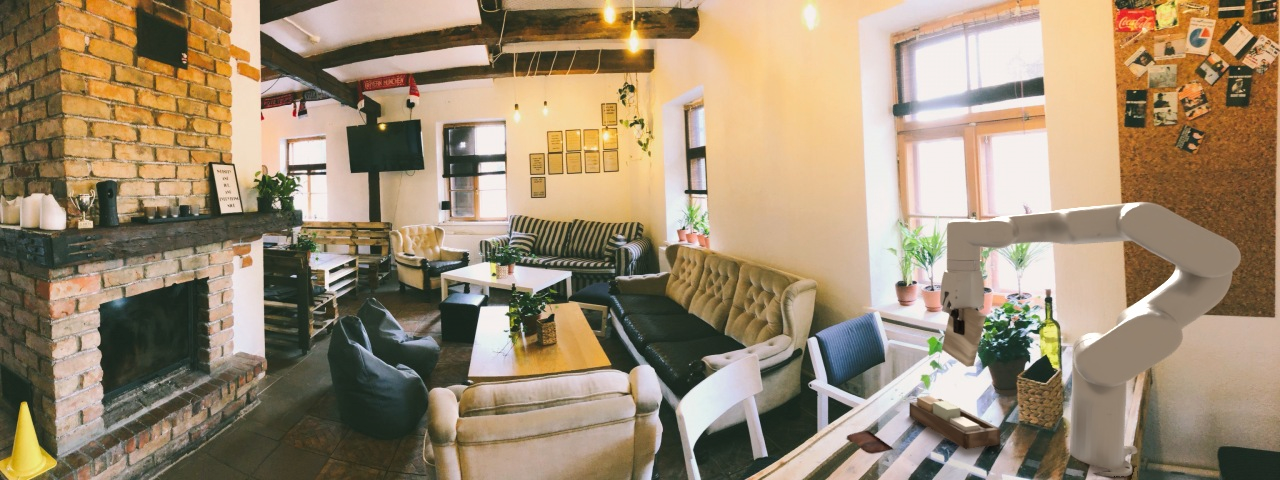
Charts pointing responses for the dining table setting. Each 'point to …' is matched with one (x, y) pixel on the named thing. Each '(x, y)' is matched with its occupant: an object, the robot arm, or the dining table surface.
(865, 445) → the wooden tablet
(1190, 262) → the robot arm
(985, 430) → the brown wooden tray
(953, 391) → the dining table surface
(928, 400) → the offcut
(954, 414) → the block
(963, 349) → the light wooden board
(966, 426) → the offcut
